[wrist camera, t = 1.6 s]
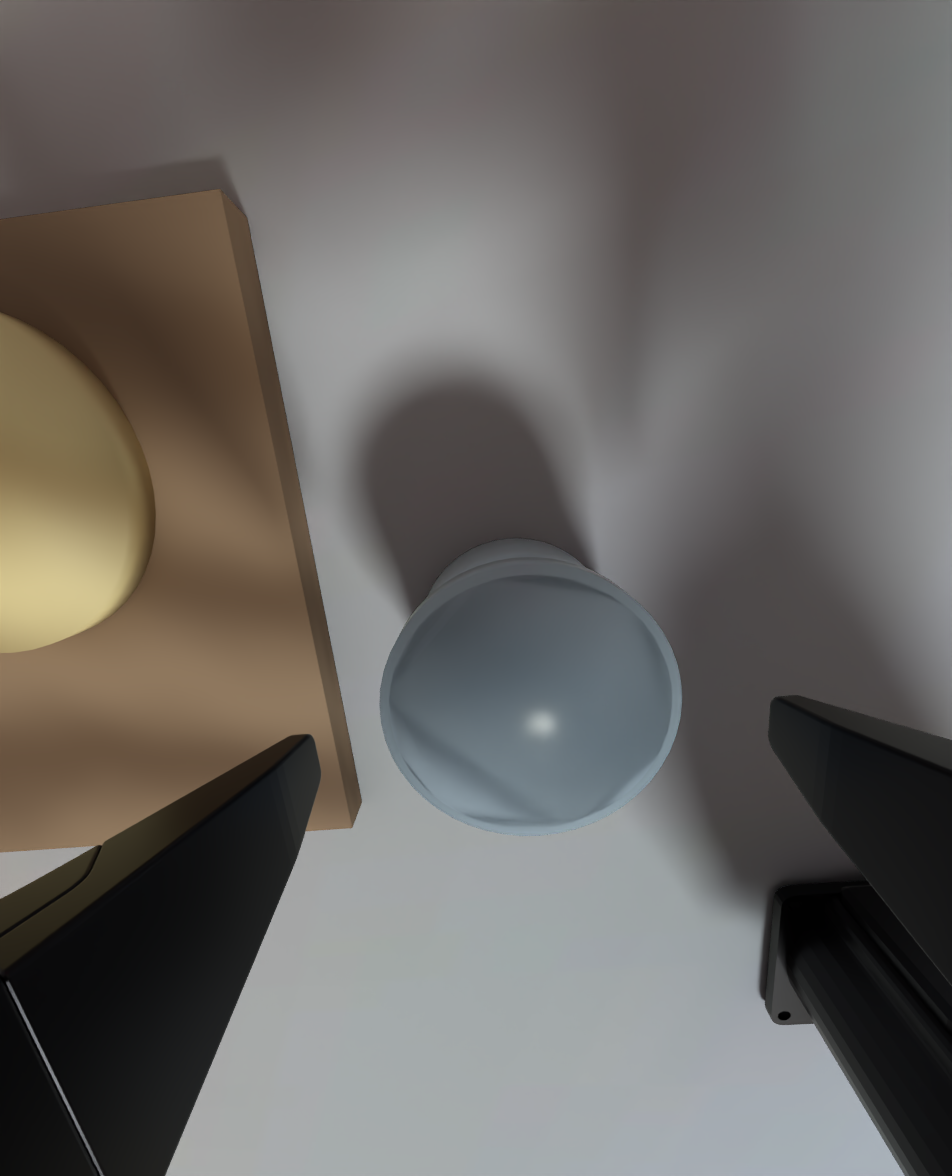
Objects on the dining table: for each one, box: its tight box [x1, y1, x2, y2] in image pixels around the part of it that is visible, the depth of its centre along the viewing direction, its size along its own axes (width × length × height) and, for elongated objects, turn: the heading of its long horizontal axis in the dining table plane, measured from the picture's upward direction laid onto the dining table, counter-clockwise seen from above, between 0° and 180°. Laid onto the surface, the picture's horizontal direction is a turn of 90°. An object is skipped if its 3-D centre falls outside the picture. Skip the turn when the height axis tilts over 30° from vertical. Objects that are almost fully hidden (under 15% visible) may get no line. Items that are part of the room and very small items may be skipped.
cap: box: [380, 538, 682, 836], centre depth 12 cm, size 6×6×5 cm
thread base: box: [0, 189, 362, 852], centre depth 13 cm, size 18×14×2 cm
